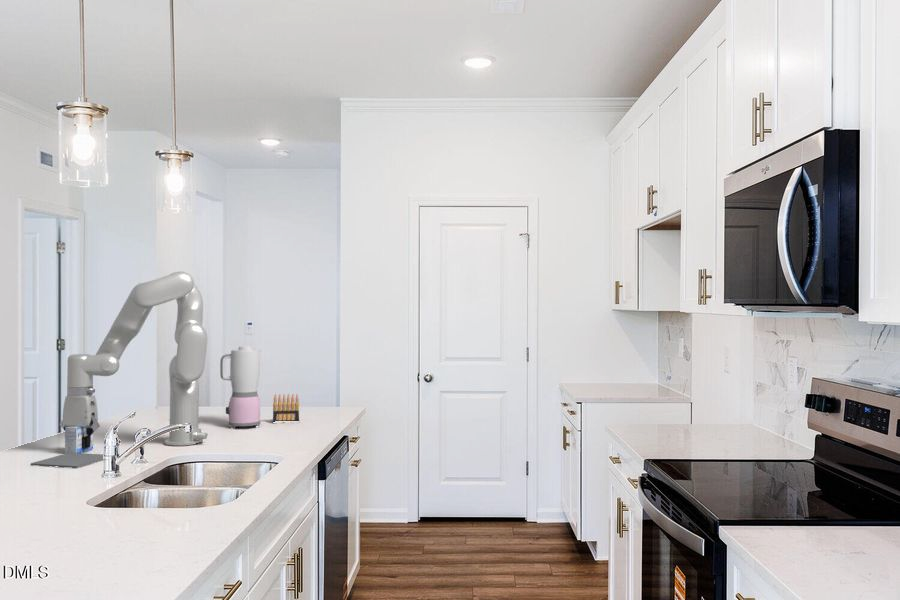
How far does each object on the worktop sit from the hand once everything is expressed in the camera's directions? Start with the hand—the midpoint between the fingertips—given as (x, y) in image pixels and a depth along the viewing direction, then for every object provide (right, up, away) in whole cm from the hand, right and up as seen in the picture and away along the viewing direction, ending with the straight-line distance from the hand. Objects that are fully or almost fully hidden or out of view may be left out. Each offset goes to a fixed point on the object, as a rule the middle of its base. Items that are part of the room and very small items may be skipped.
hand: (79, 446), depth 229 cm
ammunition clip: (+54, -3, +60) cm, 81 cm away
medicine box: (0, -2, 0) cm, 2 cm away
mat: (+5, -2, -13) cm, 15 cm away
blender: (+38, -3, +49) cm, 62 cm away
